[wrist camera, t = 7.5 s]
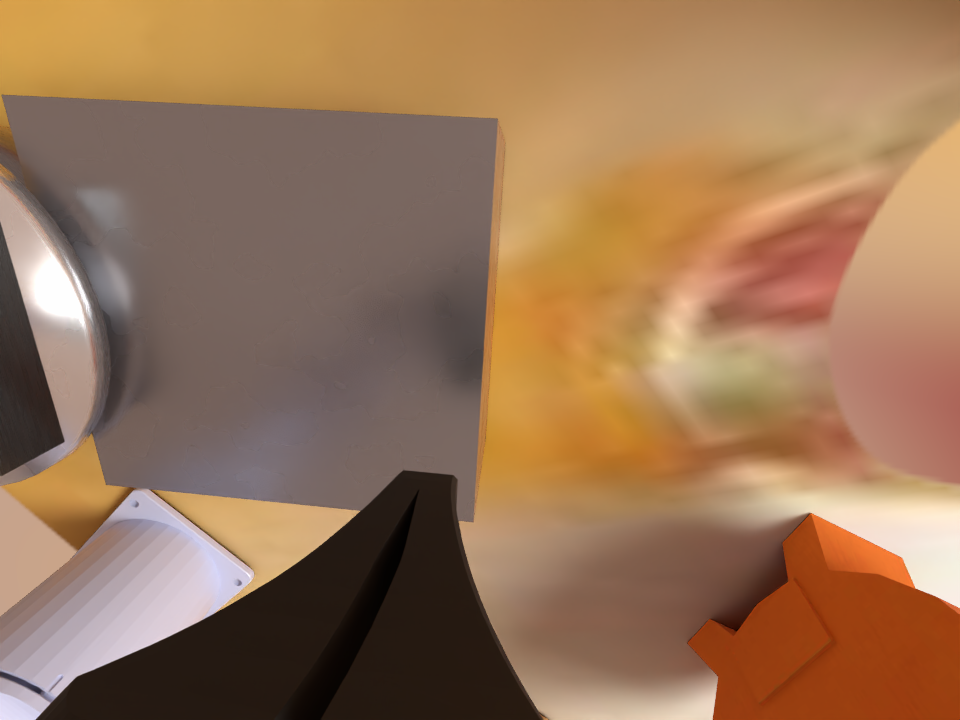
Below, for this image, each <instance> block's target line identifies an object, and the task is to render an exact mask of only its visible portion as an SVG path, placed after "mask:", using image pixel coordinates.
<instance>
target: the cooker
mask: <svg viewBox="0 0 960 720" xmlns="http://www.w3.org/2000/svg"><path fill="white" fill-rule="evenodd" d="M2 98H3V102H4V106H5V109H6V113H7V117H8V120H9V124H10V128H8V127H0V164H1V165H3V166H4V167H5V168H6V169H7V170H9V171H10V172H11V173H12V174H13V175H14V176H15V177H16V178H17V179H18V180H19V181H20V182H21V183H22V184H23V185H24V186H25V187H26V188H27V189H28V190H29V191H30V192H31V193H32V194H33V195H34V196H35V197H36V199H37V200H38V201H39V202H40V203H41V205H42V206H43V207H44V208H45V210H46V211H47V212H48V213H49V214H50V216H51V217H52V218H53V219H54V220H55V222H56V223H57V225H58V226H59V228H60V229H61V231H62V232H63V233H64V235H65V236H66V238H67V239H68V241H69V242H70V244H71V245H72V247H73V248H74V250H75V252H76V254H77V256H78V258H79V259H80V261H81V263H82V265H83V267H84V269H85V270H86V272H87V274H88V276H89V279H90V281H91V284H92V286H93V288H94V291H95V293H96V295H97V298H98V300H99V304H100V307H101V310H102V314H103V317H104V320H105V324H106V329H107V335H108V340H109V346H110V362H111V375H110V384H109V393H108V396H107V400H106V404H105V407H104V411H103V413H102V415H101V417H100V419H99V421H98V423H97V425H96V427H95V429H94V430H93V432H92V434H93V438H94V441H95V445H96V449H97V453H98V456H99V460H100V464H101V468H102V471H103V475H104V479H105V482H106V485H114V486H123V487H133V488H143V489H153V490H163V491H172V492H182V493H192V494H202V495H212V496H221V497H231V498H241V499H251V500H261V501H270V502H280V503H290V504H300V505H310V506H319V507H329V508H339V509H349V510H358V511H361V510H362V509H363V508H365V507H366V506H367V505H368V504H369V503H370V502H371V501H372V500H373V499H374V498H375V497H376V496H377V495H378V494H379V493H380V492H381V491H382V490H383V489H384V488H385V487H386V486H387V485H388V484H389V483H390V482H391V481H392V480H393V479H394V478H395V477H396V476H397V475H398V474H399V473H400V472H402V471H403V470H408V471H418V472H428V473H439V474H449V475H454V476H455V477H456V478H457V479H458V487H457V517H458V521H466V522H473V521H474V515H475V508H476V501H477V494H478V487H479V480H480V473H481V467H482V460H483V453H484V446H485V439H486V424H487V409H488V394H489V379H490V364H491V349H492V334H493V319H494V304H495V290H496V275H497V260H498V245H499V230H500V215H501V200H502V185H503V170H504V155H505V140H504V137H503V134H502V131H501V127H500V124H499V121H498V119H493V118H472V117H451V116H431V115H410V114H389V113H369V112H348V111H327V110H306V109H286V108H265V107H244V106H224V105H203V104H182V103H161V102H141V101H120V100H99V99H79V98H58V97H37V96H16V95H2Z"/></svg>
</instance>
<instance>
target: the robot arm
mask: <svg viewBox="0 0 960 720" xmlns="http://www.w3.org/2000/svg"><path fill="white" fill-rule="evenodd" d="M457 487H458V479H457V478H456V477H455V476H454V475H449V474H439V473H428V472H418V471H408V470H403V471H402V472H400V473H399V474H398V475H397V476H396V477H395V478H394V479H393V480H392V481H391V482H390V483H389V484H388V485H387V486H386V487H385V488H384V489H383V490H382V491H381V492H380V493H379V494H378V495H377V496H376V497H375V498H374V499H373V500H372V501H371V502H370V503H369V504H368V505H367V506H366V507H365V508H363V509H362V510H361V511H360V512H359V513H358V514H357V515H356V516H355V517H354V518H353V519H351V520H350V521H349V522H348V523H347V524H346V525H345V526H343V527H342V528H341V529H340V530H339V531H337V532H336V533H335V534H334V535H333V536H331V537H330V538H329V539H328V540H327V541H325V542H324V543H323V544H322V545H320V546H319V547H318V548H317V549H315V550H314V551H313V552H311V553H310V554H309V555H307V556H306V557H305V558H303V559H302V560H301V561H299V562H298V563H296V564H295V565H294V566H292V567H291V568H289V569H288V570H286V571H285V572H283V573H282V574H280V575H279V576H277V577H276V578H274V579H273V580H271V581H269V582H268V583H266V584H264V585H263V586H261V587H259V588H258V589H256V590H254V591H253V592H251V593H249V594H248V595H246V596H244V597H243V598H241V599H239V600H238V601H236V602H234V603H233V604H231V605H229V606H227V607H226V608H224V609H222V610H220V611H218V612H216V611H217V610H218V609H220V608H221V607H222V606H223V605H224V604H225V603H227V602H228V601H229V600H230V599H231V598H232V597H234V596H235V595H236V594H237V593H238V592H239V591H241V590H242V589H243V588H244V587H245V586H247V585H248V584H249V583H250V582H251V580H252V579H253V577H254V572H253V570H252V569H251V568H249V567H248V566H247V565H246V564H244V563H243V562H242V561H240V560H239V559H238V558H237V557H235V556H234V555H233V554H231V553H230V552H229V551H228V550H226V549H225V548H224V547H222V546H221V545H220V544H219V543H217V542H216V541H215V540H213V539H212V538H211V537H210V536H208V535H207V534H206V533H204V532H203V531H202V530H201V529H199V528H198V527H197V526H195V525H194V524H193V523H192V522H190V521H189V520H188V519H186V518H185V517H184V516H183V515H181V514H180V513H179V512H177V511H176V510H175V509H174V508H172V507H171V506H170V505H168V504H167V503H166V502H165V501H163V500H162V499H161V498H159V497H158V496H157V495H156V494H154V493H153V492H152V491H150V490H149V489H143V488H136V489H135V490H133V491H132V492H131V493H130V494H129V495H128V496H127V498H126V499H125V500H124V501H123V502H122V503H121V504H120V505H119V506H118V507H117V509H116V510H115V511H114V512H113V513H112V514H111V515H110V516H109V517H108V518H107V520H106V521H105V522H104V523H103V524H102V525H101V526H100V527H99V528H98V530H97V531H96V532H95V533H94V534H93V535H92V536H91V537H90V538H89V539H88V541H87V542H86V543H85V544H84V545H83V546H82V547H81V548H80V549H79V550H78V552H77V553H76V554H75V555H74V556H73V557H72V558H71V559H70V561H68V562H67V563H66V564H65V565H63V566H62V567H61V568H60V569H59V570H57V571H56V572H55V573H54V574H52V575H51V576H50V577H49V578H47V579H46V580H45V581H44V582H43V583H41V584H40V585H39V586H38V587H36V588H35V589H34V590H33V591H31V592H30V593H29V594H28V595H26V596H25V597H24V598H23V599H22V600H20V601H19V602H18V603H17V604H16V605H14V606H13V607H12V608H11V609H9V610H8V611H7V612H6V613H4V614H3V615H2V616H1V617H0V720H544V719H543V718H542V716H541V715H540V713H539V712H538V710H537V708H536V707H535V705H534V703H533V702H532V700H531V699H530V697H529V695H528V694H527V692H526V690H525V689H524V687H523V685H522V683H521V681H520V680H519V678H518V676H517V674H516V673H515V671H514V669H513V667H512V665H511V664H510V662H509V660H508V658H507V656H506V654H505V652H504V650H503V648H502V645H501V643H500V641H499V639H498V637H497V635H496V633H495V631H494V629H493V627H492V625H491V623H490V621H489V618H488V616H487V614H486V611H485V609H484V606H483V604H482V602H481V599H480V596H479V594H478V591H477V588H476V586H475V583H474V580H473V577H472V574H471V571H470V568H469V564H468V561H467V557H466V554H465V550H464V546H463V542H462V538H461V533H460V528H459V523H458V517H457ZM215 612H216V613H215Z"/></svg>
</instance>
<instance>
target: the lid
mask: <svg viewBox="0 0 960 720" xmlns="http://www.w3.org/2000/svg"><path fill="white" fill-rule="evenodd" d="M110 375H111V362H110V346H109V340H108V335H107V329H106V324H105V320H104V317H103V314H102V310H101V307H100V304H99V300H98V298H97V295H96V293H95V291H94V288H93V286H92V284H91V281H90V279H89V276H88V274H87V272H86V270H85V269H84V267H83V265H82V263H81V261H80V259H79V258H78V256H77V254H76V252H75V250H74V248H73V247H72V245H71V244H70V242H69V241H68V239H67V238H66V236H65V235H64V233H63V232H62V231H61V229H60V228H59V226H58V225H57V223H56V222H55V220H54V219H53V218H52V217H51V216H50V214H49V213H48V212H47V211H46V210H45V208H44V207H43V206H42V205H41V203H40V202H39V201H38V200H37V199H36V197H35V196H34V195H33V194H32V193H31V192H30V191H29V190H28V189H27V188H26V187H25V186H24V185H23V184H22V183H21V182H20V181H19V180H18V179H17V178H16V177H15V176H14V175H13V174H12V173H11V172H10V171H9V170H7V169H6V168H5V167H4V166H3V165H1V164H0V486H2V485H6V484H11V483H15V482H19V481H22V480H25V479H27V478H29V477H32V476H34V475H37V474H39V473H40V472H42V471H44V470H45V469H47V468H49V467H51V466H52V465H54V464H56V463H58V462H59V461H61V460H62V459H64V458H66V457H67V456H69V455H70V454H72V453H73V452H74V451H75V450H77V449H78V448H79V447H80V446H81V445H82V444H83V443H84V442H85V441H86V440H87V438H88V437H89V436H90V434H91V433H92V432H93V430H94V429H95V427H96V425H97V423H98V421H99V419H100V417H101V415H102V413H103V411H104V407H105V404H106V400H107V396H108V393H109V384H110Z"/></svg>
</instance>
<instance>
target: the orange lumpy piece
mask: <svg viewBox="0 0 960 720" xmlns="http://www.w3.org/2000/svg"><path fill="white" fill-rule="evenodd" d="M782 544H783V550H784V557H785V563H786V570H787V576H788V582H787V583H786V584H784V585H783V586H781V587H780V588H779V589H777V590H776V591H774V592H773V593H772V594H770V595H769V596H767V597H766V598H765V599H763V600H762V601H761V602H759V603H758V604H757V605H756V606H755V607H754V609H753V610H752V612H751V613H750V614H749V616H748V617H747V618H746V620H745V621H744V623H743V624H742V625H741V627H740V628H739V629H738V631H735V630H733V629H731V628H729V627H726V626H724V625H722V624H720V623H718V622H716V621H713V620H711V619H709V620H708V621H707V622H706V623H705V625H704V626H703V627H702V628H701V629H700V630H699V631H698V632H697V633H696V634H695V635H694V636H693V637H692V638H691V640H690V641H689V642H688V644H689V646H690V647H691V648H692V649H693V650H694V651H695V652H696V653H697V654H698V655H699V656H700V657H701V659H702V660H703V661H704V662H705V663H706V664H707V665H708V666H709V667H710V668H711V669H712V670H713V671H714V673H715V674H716V675H717V676H718V684H717V692H716V699H715V707H714V714H713V720H960V608H958V607H956V606H954V605H952V604H950V603H948V602H946V601H944V600H942V599H940V598H938V597H935V596H933V595H930V594H928V593H925V592H923V591H920V590H918V589H915V586H914V584H913V582H912V580H911V577H910V575H909V573H908V570H907V568H906V566H905V563H904V561H903V559H902V558H901V557H899V556H897V555H895V554H893V553H891V552H889V551H887V550H885V549H883V548H881V547H879V546H877V545H875V544H873V543H871V542H869V541H867V540H865V539H863V538H861V537H859V536H857V535H855V534H852V533H850V532H848V531H846V530H844V529H842V528H840V527H838V526H836V525H834V524H832V523H830V522H828V521H826V520H824V519H822V518H820V517H818V516H816V515H814V514H812V513H810V515H809V516H808V517H807V518H806V519H805V520H804V521H803V522H802V523H801V524H800V525H799V526H798V527H797V528H796V529H795V530H794V531H793V532H792V533H791V534H790V536H789V537H788V538H787V539H786V540H785V541H784V542H783V543H782Z"/></svg>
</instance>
